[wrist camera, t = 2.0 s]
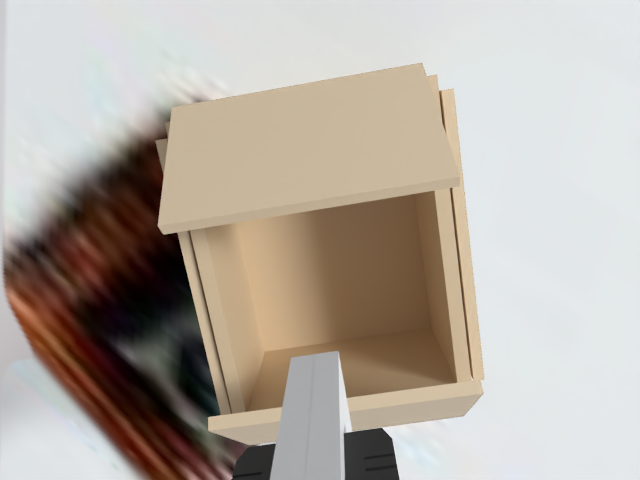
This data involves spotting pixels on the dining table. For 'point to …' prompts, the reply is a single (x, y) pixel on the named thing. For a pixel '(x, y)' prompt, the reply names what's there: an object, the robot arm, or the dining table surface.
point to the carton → (340, 292)
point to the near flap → (304, 149)
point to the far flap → (361, 411)
